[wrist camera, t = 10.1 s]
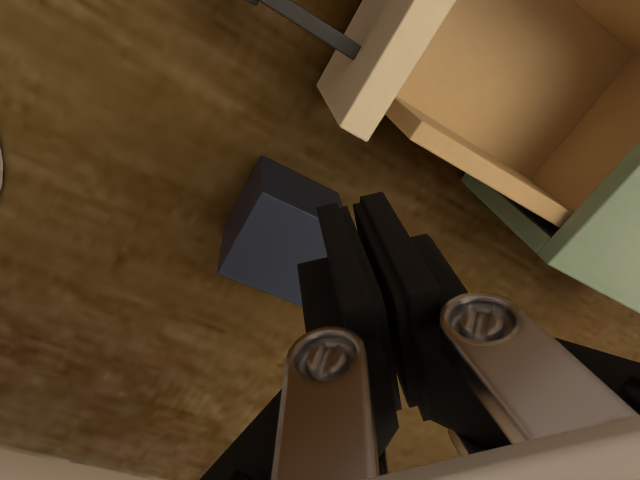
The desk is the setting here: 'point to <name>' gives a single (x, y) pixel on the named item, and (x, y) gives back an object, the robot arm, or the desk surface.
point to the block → (274, 230)
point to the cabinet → (586, 232)
